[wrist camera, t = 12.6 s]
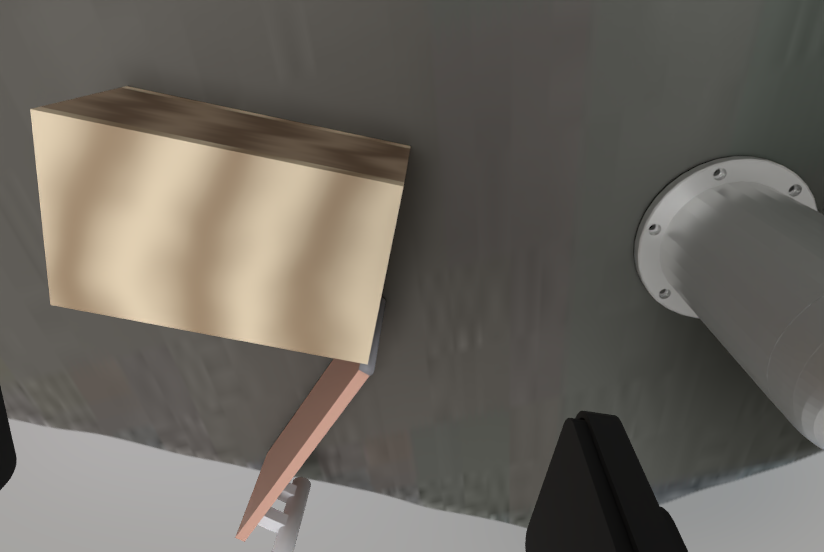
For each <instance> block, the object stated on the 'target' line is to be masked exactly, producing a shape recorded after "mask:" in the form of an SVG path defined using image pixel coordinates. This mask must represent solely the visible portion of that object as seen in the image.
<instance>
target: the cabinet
mask: <svg viewBox="0 0 824 552" xmlns="http://www.w3.org/2000/svg"><path fill="white" fill-rule="evenodd" d="M30 110H31V120H32V130H33V139H34V149H35V159H36V168H37V178H38V188H39V197H40V207H41V217H42V226H43V236H44V245H45V255H46V265H47V274H48V284H49V294H50V303H51V305H54V306H60V307H65V308H70V309H76V310H81V311H86V312H92V313H97V314H102V315H107V316H113V317H118V318H123V319H129V320H134V321H139V322H145V323H150V324H155V325H160V326H166V327H171V328H176V329H182V330H187V331H192V332H198V333H203V334H208V335H213V336H219V337H224V338H229V339H235V340H240V341H245V342H251V343H256V344H261V345H267V346H272V347H277V348H282V349H288V350H293V351H298V352H304V353H309V354H314V355H320V356H325V357H330V358H335V359H341V360H346V361H351V362H357V363H362V364H367V365H368V360H369V355H370V350H371V345H372V340H373V336H374V331H375V326H376V321H377V316H378V311H379V306H380V301H381V296H382V291H383V286H384V281H385V276H386V271H387V266H388V261H389V256H390V251H391V246H392V241H393V236H394V231H395V226H396V221H397V216H398V211H399V206H400V201H401V197H402V192H403V187H404V181H405V175H406V170H407V164H408V158H409V153H410V147H411V146H408V145H403V144H399V143H394V142H389V141H384V140H380V139H375V138H370V137H365V136H361V135H356V134H351V133H347V132H342V131H337V130H332V129H328V128H323V127H318V126H313V125H309V124H304V123H299V122H295V121H290V120H285V119H280V118H276V117H271V116H266V115H261V114H257V113H252V112H247V111H242V110H238V109H233V108H228V107H224V106H219V105H214V104H209V103H205V102H200V101H195V100H190V99H186V98H181V97H176V96H172V95H167V94H162V93H157V92H153V91H148V90H143V89H138V88H134V87H129V86H125V87H121V88H117V89H113V90H108V91H104V92H100V93H96V94H92V95H88V96H83V97H79V98H75V99H71V100H67V101H62V102H58V103H54V104H50V105H46V106H42V107H37V108H33V109H30Z"/></svg>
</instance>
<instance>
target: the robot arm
mask: <svg viewBox="0 0 824 552" xmlns="http://www.w3.org/2000/svg"><path fill="white" fill-rule="evenodd" d="M716 170H717V172H716V173H715V174H714V172H715V171H716ZM653 224H654V225H653ZM651 225H653V227H652V228H650V226H651ZM634 259H635V264H636V270H637V272H638V275H639V277H640V279H641V282H642V283H643V285H644V286H645V287H646V289H647V290H648V292H649V293H650V294H651V295H652V296H653V298H654V299H655V300H656V301H657V302H659V303H660V304H662V305H663V306H664V307H666V308H667V309H669V310H671V311H673V312H676V313H678V314H681V315H684V316H689V317H694V318H700V319H701V321H702V322H703V323H704V324H705V325H706V326H707V327H708V329H709V330H710V331H711V332H712V333H713V334H714V336H715V337H716V338H717V339H718V340H719V341H720V343H721V344H722V345H723V346H724V347H725V348H726V349H727V351H728V352H729V353H730V354H731V355H732V356H733V358H734V359H735V360H736V361H737V362H738V363H739V364H740V366H741V367H742V368H743V369H744V370H745V371H746V373H747V374H748V375H749V376H750V377H751V378H752V380H753V381H754V382H755V383H756V384H757V385H758V386H759V388H760V389H761V390H762V391H763V392H764V393H765V395H766V396H767V397H768V398H769V399H770V400H771V401H772V402H773V404H774V405H775V406H776V407H777V408H778V409H779V410H780V411H781V413H782V414H783V415H784V416H785V417H786V418H787V419H788V420H789V422H790V423H791V424H792V425H793V426H794V427H795V428H796V429H797V430H798V431H799V432H800V433H801V434H802V435H803V436H805V437H806V438H807V439H808V440H810V441H811V442H812V443H814V444H815V445H816V446H818V447H819V448H821V449H823V450H824V215H823V214H821V213H819V212H818V210H817V206H816V202H815V198H814V196H813V194H812V193H811V191H810V189H809V187H808V186H807V184H806V183H805V182H804V181H803V180H802V179H801V178H800V177H799V176H798V175H797V174H796V173H794V172H793V171H791V170H789V169H788V168H786V167H784V166H783V165H780V164H778V163H775V162H773V161H771V160H767V159H763V158H758V157H753V156H733V157H726V158H720V159H716V160H713V161H710V162H707V163H704V164H701V165H699V166H697V167H695V168H693V169H691V170H689V171H687V172H685V173H684V174H682V175H681V176H679V177H678V178H677V179H675V180H674V181H673V182H671V183H670V184H669V185H667V187H666V188H665V189H664V190H663V191H662V192H661V193H660V194H659V195H658V196H657V197H656V198H655V199H654V201H653V202H652V203H651V205H650V206H649V208H648V209H647V211H646V212H645V214H644V216H643V218H642V221H641V223H640V225H639V227H638V231H637V235H636V239H635V248H634ZM15 467H16V453H15V449H14V444H13V440H12V436H11V431H10V427H9V422H8V418H7V413H6V409H5V405H4V400H3V396H2V391H1V387H0V490H1V489H2V487H4V485H5V484H6V483H7V482H8V481H9V479H10V478H11V476H12V474H13V472H14V470H15ZM525 546H526V552H688V550H687V548H686V546H685V544H684V542H683V540H682V538H681V535H680V533H679V531H678V529H677V527H676V525H675V523H674V521H673V519H672V518H671V516H670V514H669V513H668V512H667V511H666V510H665V509H664V508H662V507H659V504H658V502H657V500H656V498H655V496H654V493H653V491H652V489H651V487H650V484H649V482H648V480H647V478H646V476H645V473H644V471H643V469H642V467H641V465H640V462H639V460H638V458H637V456H636V454H635V451H634V449H633V447H632V445H631V443H630V440H629V438H628V436H627V434H626V431H625V429H624V427H623V425H622V423H621V421H620V419H619V418H618V417H617V416H615V415H608V414H602V413H595V412H588V411H580V412H579V413H578V414H577V416H576V418H575V419H573V418H567V420H566V421H565V423H564V425H563V428H562V431H561V434H560V437H559V439H558V442H557V445H556V448H555V451H554V454H553V457H552V459H551V462H550V465H549V468H548V471H547V474H546V477H545V480H544V482H543V485H542V488H541V491H540V494H539V497H538V500H537V502H536V505H535V508H534V511H533V514H532V517H531V520H530V523H529V525H528V528H527V533H526V543H525Z"/></svg>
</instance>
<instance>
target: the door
mask: <svg viewBox="0 0 824 552" xmlns="http://www.w3.org/2000/svg"><path fill="white" fill-rule="evenodd" d="M385 303H386V302H385V299H384V298H382V297H381V301H380V306H379V311H378V316H377V321H376V326H375V331H374V336H373V340H372V345H371V350H370V355H369V360H368V365H367V364H362V363H357V362H351V361H346V360H341V359H335V358H334V359H333V360H332V362H331V363H330V365H329V366H328V368H327V369H326V370H325V372H324V373H323V375H322V376H321V378H320V379H319V380H318V382H317V383H316V385H315V386H314V387H313V389H312V390H311V392H310V393H309V395H308V396H307V397H306V399H305V400H304V402H303V403H302V405H301V406H300V407H299V409H298V410H297V412H296V413H295V415H294V416H293V417H292V419H291V420H290V422H289V423H288V424H287V426H286V427H285V429H284V430H283V432H282V433H281V434H280V436H279V437H278V439H277V440H276V442H275V443H274V444H273V446H272V447H271V449H270V450H269V452H268V453H267V456H266V458H265V461H264V463H263V466H262V469H261V471H260V474H259V477H258V479H257V482H256V485H255V488H254V490H253V493H252V495H251V498H250V500H249V503H248V506H247V508H246V511H245V514H244V516H243V519H242V521H241V524H240V527H239V530H238V532H237V535H236V538H237V539H240V540H242V541H244V542H245V540H246V539H247V538H248V536H249V535H250V534H251V532H252V531H253V530H254V528H255V527H256V526H257V525H259V526H262V527H264V528H266V529H268V530H270V531H273V532H275V533H277V536H276V540H275V543H274V546H273V549H272V552H293V551H294V547H295V544H296V540H297V536H298V532H299V529H300V525H301V521H302V517H303V513H304V509H305V506H306V502H307V498H308V494H309V490H310V487H311V483H310V481H309V480H308V479H306V478H303V477H298V478H295V479H294V480H293V483H292V484H291V483H289V482H290V481H291V479H292V478H293V477H294V475H295V474H296V473H297V471H298V470H299V469H300V467H301V466H302V465H303V463H304V462H305V461H306V459H307V458H308V457H309V455H310V454H311V453H312V451H313V450H314V449H315V447H316V446H317V445H318V443H319V442H320V441H321V439H322V438H323V437H324V435H325V434H326V433H327V431H328V430H329V429H330V427H331V426H332V425H333V423H334V422H335V421H336V419H337V418H338V417H339V415H340V414H341V413H342V412H343V410H344V409H345V408H346V406H347V405H348V404H349V402H350V401H351V400H352V398H353V397H354V396H355V394H356V393H357V392H358V390H359V389H360V388H361V386H362V385H363V384H364V382H365V381H366V380H367V378H368V377H369V376H370V375H372V374H373V373H374V369H375V363H376V357H377V351H378V345H379V339H380V333H381V327H382V321H383V315H384V309H385ZM276 499H279V500H281V501H283V502H285V503H286V506H285V509H284V513H283V512H281V511H278V510H276V509H274V508H272V507H271V506H272V505H273V503H274V502H275V500H276Z"/></svg>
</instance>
